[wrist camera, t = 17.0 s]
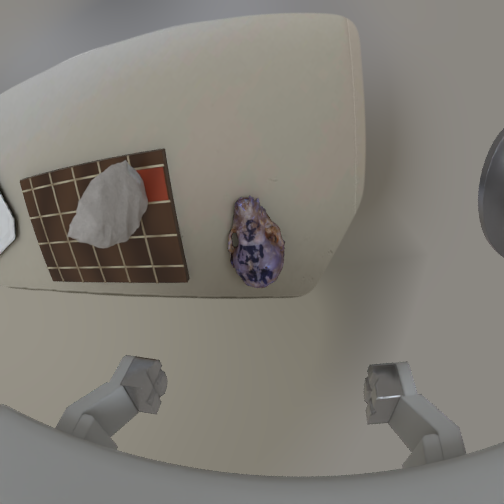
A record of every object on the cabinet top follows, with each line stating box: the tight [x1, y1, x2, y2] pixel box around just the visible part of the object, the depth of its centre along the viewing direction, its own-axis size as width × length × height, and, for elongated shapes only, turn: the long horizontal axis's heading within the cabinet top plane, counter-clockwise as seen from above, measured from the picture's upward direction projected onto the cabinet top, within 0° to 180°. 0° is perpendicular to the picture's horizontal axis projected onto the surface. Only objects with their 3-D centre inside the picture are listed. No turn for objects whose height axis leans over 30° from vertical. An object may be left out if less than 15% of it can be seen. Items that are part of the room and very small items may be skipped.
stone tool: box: [67, 160, 148, 249], centre depth 33 cm, size 9×3×15 cm, turn 14°
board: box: [20, 149, 189, 283], centre depth 44 cm, size 28×20×1 cm
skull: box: [228, 196, 285, 288], centre depth 41 cm, size 12×8×6 cm, turn 3°
